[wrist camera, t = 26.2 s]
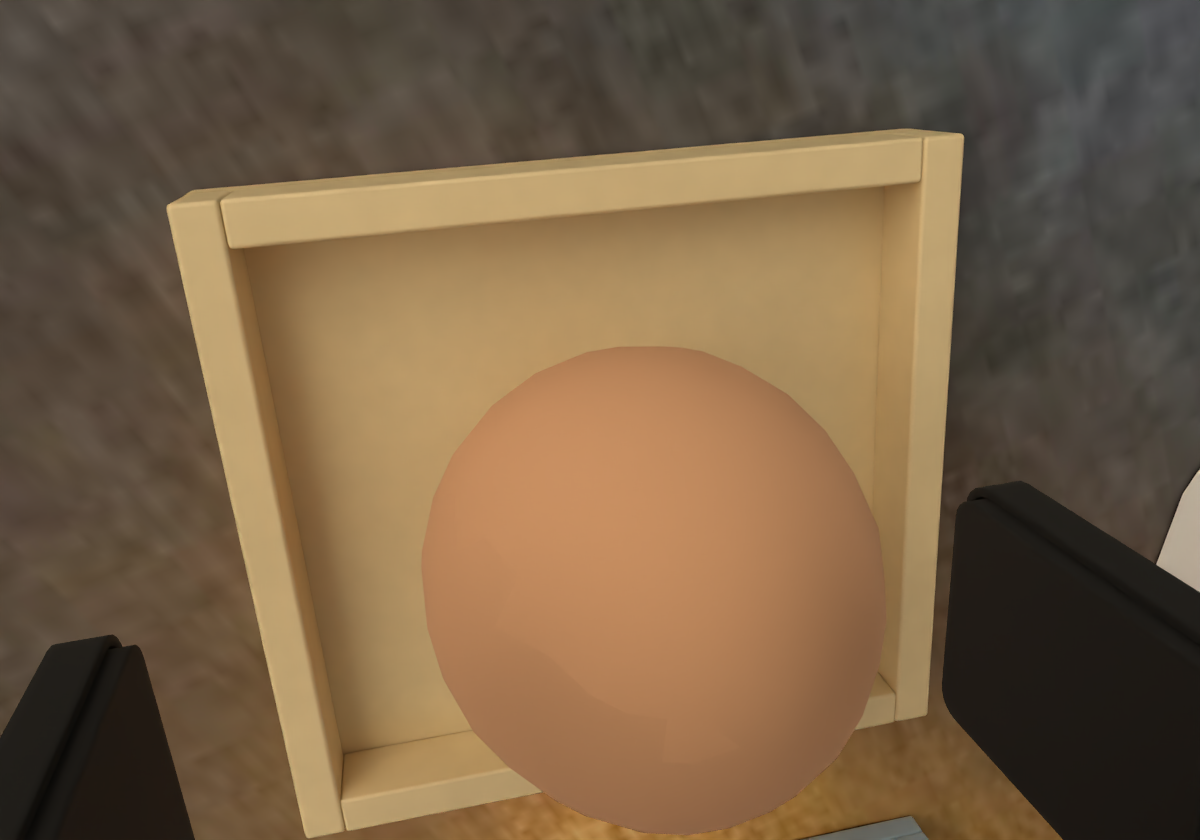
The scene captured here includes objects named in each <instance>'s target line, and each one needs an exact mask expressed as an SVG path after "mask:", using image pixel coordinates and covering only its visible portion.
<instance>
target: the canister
mask: <svg viewBox="0 0 1200 840" xmlns="http://www.w3.org/2000/svg"><path fill="white" fill-rule="evenodd" d="M1156 565H1157V566H1159V567H1161V568H1162V569H1164V570H1165V571H1167V572H1169V573H1170V574H1172V575H1173V576H1175V577H1177V578H1178V579H1180V580H1181V581H1183V582H1184V583H1186V584H1188V585H1189V586H1191V587H1192V588H1194V589H1196V590H1197V591H1199V592H1200V469H1199V471H1198V472H1197V473H1196V475H1195V476H1194V478H1193V479H1192V481H1191V482H1190V484H1189V485H1188V487H1187V488H1186V490H1185V491H1184V492H1183V494H1182V497H1181V500H1180V502H1179V505H1178V508H1177V510H1176V513H1175V516H1174V518H1173V521H1172V524H1171V526H1170V529H1169V532H1168V534H1167V537H1166V540H1165V542H1164V545H1163V547H1162V550H1161V553H1160V555H1159V558H1158V561H1157V563H1156Z"/></svg>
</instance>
